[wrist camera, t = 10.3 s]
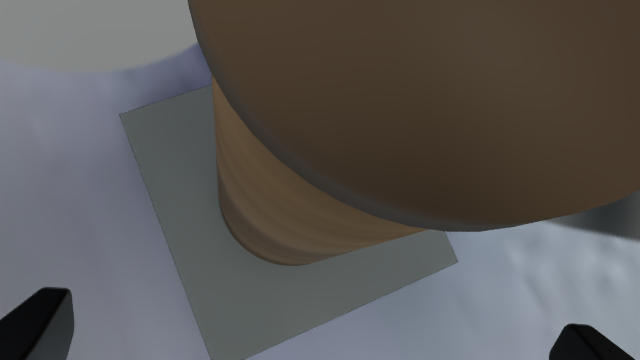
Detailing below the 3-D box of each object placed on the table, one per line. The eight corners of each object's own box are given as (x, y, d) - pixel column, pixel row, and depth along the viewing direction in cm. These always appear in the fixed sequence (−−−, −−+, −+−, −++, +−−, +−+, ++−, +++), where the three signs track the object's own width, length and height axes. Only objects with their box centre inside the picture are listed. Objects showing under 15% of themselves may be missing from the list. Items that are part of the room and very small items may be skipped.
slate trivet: (216, 363, 19) (215, 372, 17) (129, 131, 20) (118, 114, 18) (436, 264, 21) (458, 262, 19) (346, 59, 22) (358, 37, 20)
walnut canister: (300, 306, 17) (562, 366, 4) (177, 198, 17) (21, -110, 4) (398, 187, 19) (833, -66, 5) (284, 87, 19) (438, -417, 5)
